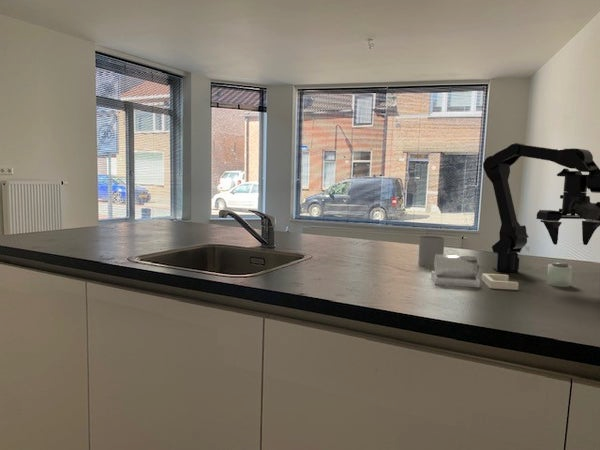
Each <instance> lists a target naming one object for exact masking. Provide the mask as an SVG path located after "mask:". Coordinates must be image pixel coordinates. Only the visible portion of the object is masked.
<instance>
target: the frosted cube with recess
mask: <svg viewBox="0 0 600 450" xmlns="http://www.w3.org/2000/svg"><path fill="white" fill-rule="evenodd" d="M572 271H573V267H572V266H571V265H569V264H568V262H567V263H566V262H561V261H552V262H551V263H549V264H547V276H546V277H547V278H546V284H547V285H548V284H549V286H553V287H557V286H558V287H559V288H570V287H571V284H572V275H573V273H572Z"/></svg>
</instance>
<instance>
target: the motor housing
mask: <svg viewBox="0 0 600 450" xmlns="http://www.w3.org/2000/svg"><path fill="white" fill-rule="evenodd" d="M479 271H480V266H479V264H478V259H477V256H475V255H459V254H458V255H456V254H444V255H439V254H436V255H435V260H434V267H433V270H431V280H432V282H433V283H434V285H436V286H451V287H466V288H480V283H481V282H480V281H481V280H480V278H478V277H477V275H478V273H479Z"/></svg>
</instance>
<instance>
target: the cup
mask: <svg viewBox="0 0 600 450" xmlns="http://www.w3.org/2000/svg"><path fill="white" fill-rule="evenodd" d="M418 244H419V245H418V265H419V266H423V267H426V268H427V267H428V268H434V260H435V255H436V254H439V255H445V253H444V252H445V237H444V236H438V235H420V236H419V242H418Z"/></svg>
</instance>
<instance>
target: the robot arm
mask: <svg viewBox="0 0 600 450" xmlns="http://www.w3.org/2000/svg"><path fill="white" fill-rule="evenodd" d="M521 157H526V158H530V159H531V158H532V159H535V160H536V159H537V160H543V161H548V162H549V161H550V162H553V163H555V164H557V165H560V166H562V167H565V168H563V169H562V170H561V171H560V172H558V173H557V174H556V176H557V177H564V179H563V180H564V183H563V193H562V194H561V195H559V199H562V205H561V208H558V210H551V209H539V211H537V213H536V220H540V223H543V224H544V227H545V228H546V230H547V232H548V234H549V237H550V239H551V242H552V244H553V245H554V246H555V245H556V246H557V245H558V241H559V228H560V226H561V224H563V223H562V221H560V220H562V219H571V220H581V231H582V238H581V239H582V243H583V246H587V245H588V244H589V242H590V240H591V238H592V236H593V235H594V233H595V231H596V230H597V229H598V228H600V201H597V202H596V203H595V202H592V201H591V197H590V195H587V194H588V193H587V192H588V191H587V190H590V192H591V193H592V194H593V193H595V194H597V193H598V194H600V168H599V166H598V165H597V164H596V162H595V161H594V156H593V153H592V152H591V151H590V150H588V149H585V148H584V149H582V148H575V147H574V148H557V149H556V148H550V147H549V148H548V147H543V146H542V147H541V146H534V145H527V144H523V143H518V142H514V143H512V144H510V145H508V146H507V147H505V148H504V149H501V150H500V151H498V152H496V153H494V154H493V155H489V156H487V157H486V158H485V160H484V161H483V163H482V168H483V171H484V172H485V174H486V177H487V178H488V179H489V181H490V183H492V186H493V192H494V196H495V201H496V205H497V209H498V215H499V217H500V218H499V219H500V224H501V225H500V228H499V233H498V235H499V237H498V239H499V240H498V241H497V242H495V243H494V244H493V245H492V246H491V249H492V251H493V253H494V254H495V256H494V257H495V258H494V266H492V267H493V268H492V269H494V271H495V270H496V272H499V273H500V272H502V273H516V274H517V273H519V271H518V270H519V269H520V257H519V253H521V252H522V250H523V248H524V247H526V244H528V238H529V234H528V233H527V227H526V225H521V224H520V223H519V221H518V219H517V215H516V210H515V206H514V202H513V197H512V192H511V189H510V184H509V178H510V173H511V166H513V165H514V164H515V163H516V162H517V161H518V160H519V159H520V158H521ZM569 169H571V170H569ZM572 169H574V170H572ZM582 172H583V173H588V174H583V173H582Z"/></svg>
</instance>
